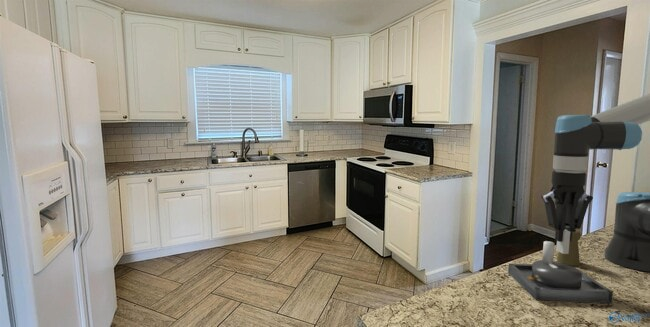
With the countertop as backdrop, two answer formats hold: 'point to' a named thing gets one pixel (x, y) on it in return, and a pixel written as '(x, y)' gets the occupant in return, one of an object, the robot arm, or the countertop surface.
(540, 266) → the lever
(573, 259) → the cork
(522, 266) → the dark grey tray
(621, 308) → the countertop surface
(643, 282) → the countertop surface
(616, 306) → the countertop surface
